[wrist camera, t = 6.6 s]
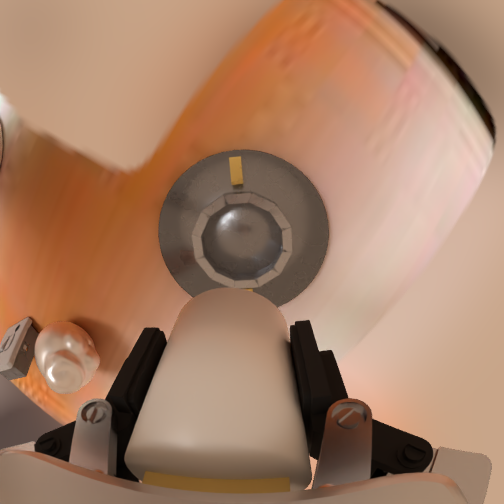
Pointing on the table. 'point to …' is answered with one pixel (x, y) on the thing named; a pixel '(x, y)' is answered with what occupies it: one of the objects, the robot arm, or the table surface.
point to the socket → (244, 226)
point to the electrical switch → (17, 350)
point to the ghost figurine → (66, 356)
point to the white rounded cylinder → (223, 402)
